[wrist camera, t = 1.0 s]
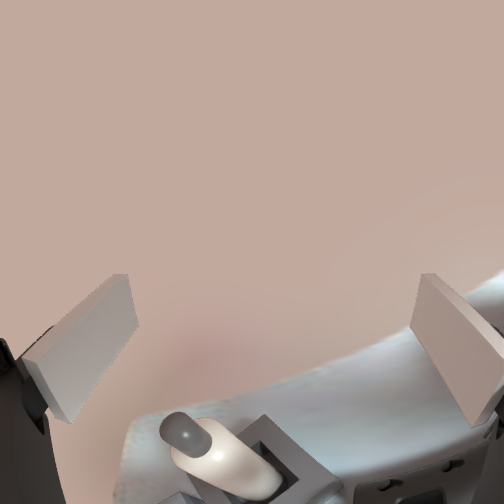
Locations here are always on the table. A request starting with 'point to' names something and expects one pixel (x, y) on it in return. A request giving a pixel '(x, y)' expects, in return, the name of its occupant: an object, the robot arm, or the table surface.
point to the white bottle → (221, 458)
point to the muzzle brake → (429, 482)
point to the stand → (181, 499)
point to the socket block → (285, 460)
